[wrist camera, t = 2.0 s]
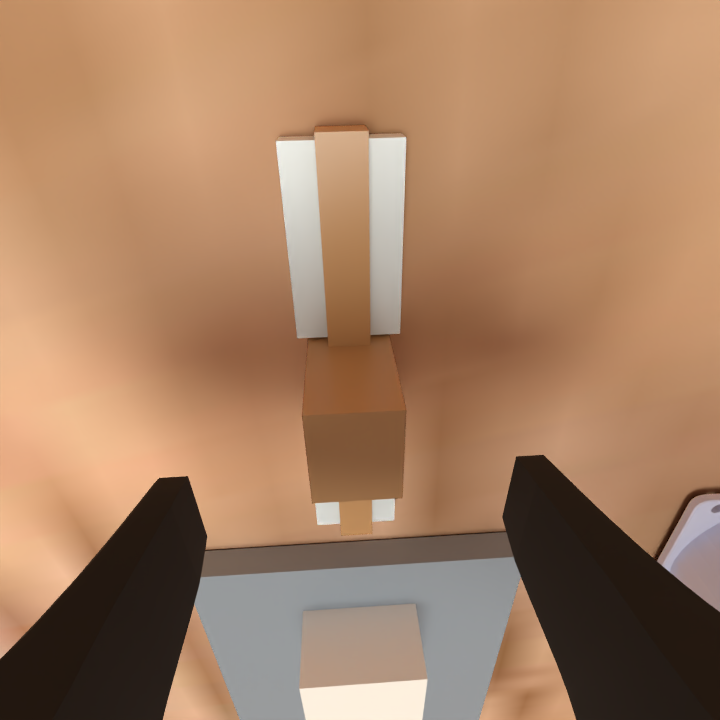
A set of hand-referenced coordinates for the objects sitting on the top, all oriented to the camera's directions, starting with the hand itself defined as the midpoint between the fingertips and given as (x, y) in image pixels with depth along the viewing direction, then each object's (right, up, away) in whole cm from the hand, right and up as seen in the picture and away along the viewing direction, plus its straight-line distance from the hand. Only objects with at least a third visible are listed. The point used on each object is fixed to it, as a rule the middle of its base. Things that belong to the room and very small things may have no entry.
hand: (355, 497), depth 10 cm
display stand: (0, -13, +15) cm, 20 cm away
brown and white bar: (0, +3, +5) cm, 5 cm away
